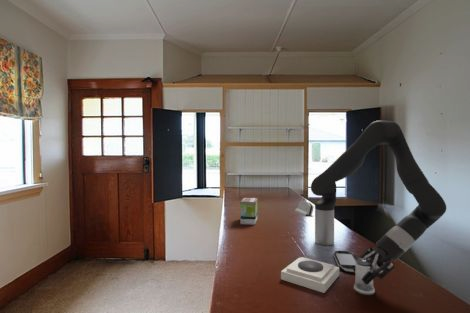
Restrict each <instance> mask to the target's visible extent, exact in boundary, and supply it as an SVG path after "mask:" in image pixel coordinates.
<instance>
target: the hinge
mask: <svg viewBox="0 0 470 313" xmlns="http://www.w3.org/2000/svg"><path fill="white" fill-rule="evenodd" d="M314 209H315V205H313V204H312V203H311V202H308V201H307V200H301V201H299V202H298V206H297V208H295V210H294V211H295V213H298V214H300V215H302V216H304V217H306V216H310V217H312V215H313V212H314Z"/></svg>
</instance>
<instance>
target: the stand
mask: <svg viewBox="0 0 470 313" xmlns="http://www.w3.org/2000/svg"><path fill="white" fill-rule="evenodd" d="M339 276H340V269H339V267H338V266H335V265H334V264H331V263H327V262H323V261H320V260H316V259H311V258H308V257H303V256H300V257H298V258H297V259H295V260H294V261H293V262H292V263H290V264H288V265H286V267H284V268H283V269H282V270H281V271H280V280H282V281H286V282H288V283H291V284H294V285H298V286H301V287H305V288H308V289H310V290H314V291H316V292H319V293H322V294H324V293H326V292H327V290H328V289H329V288H330V287H331V285H333V283H334V282H335V281H336V280H337V278H338V277H339Z"/></svg>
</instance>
